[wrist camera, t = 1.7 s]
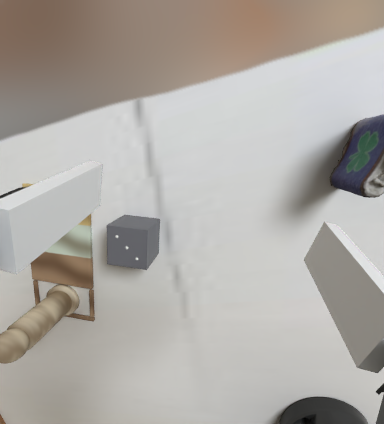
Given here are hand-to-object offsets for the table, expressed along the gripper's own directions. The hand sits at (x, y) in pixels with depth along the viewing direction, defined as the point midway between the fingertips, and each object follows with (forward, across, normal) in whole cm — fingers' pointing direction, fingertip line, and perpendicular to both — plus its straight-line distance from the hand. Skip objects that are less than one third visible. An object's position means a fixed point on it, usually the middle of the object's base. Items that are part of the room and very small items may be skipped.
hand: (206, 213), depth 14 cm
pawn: (+18, +21, +33) cm, 43 cm away
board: (+20, +22, +24) cm, 38 cm away
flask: (+22, -18, -3) cm, 28 cm away
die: (+20, +8, +16) cm, 27 cm away
